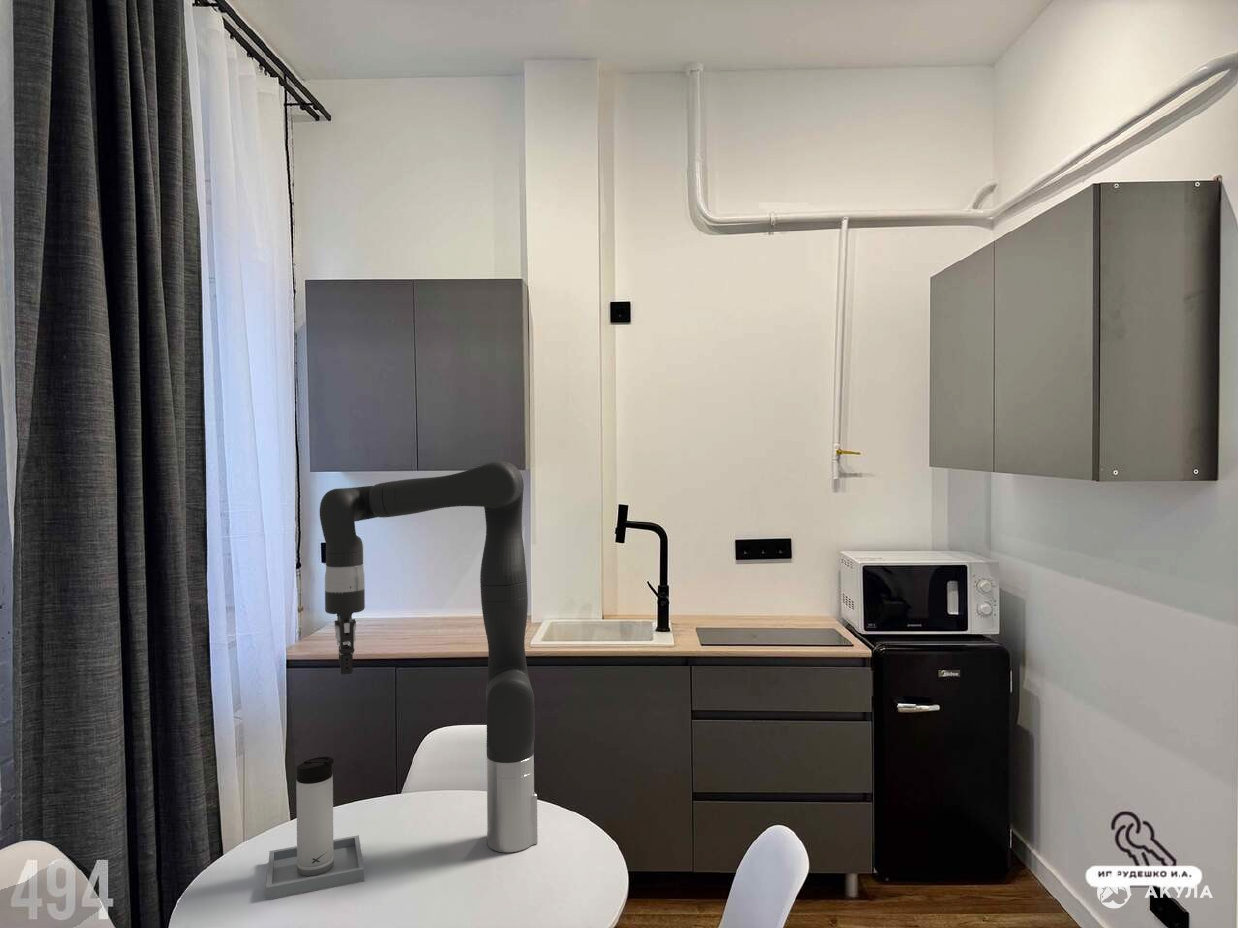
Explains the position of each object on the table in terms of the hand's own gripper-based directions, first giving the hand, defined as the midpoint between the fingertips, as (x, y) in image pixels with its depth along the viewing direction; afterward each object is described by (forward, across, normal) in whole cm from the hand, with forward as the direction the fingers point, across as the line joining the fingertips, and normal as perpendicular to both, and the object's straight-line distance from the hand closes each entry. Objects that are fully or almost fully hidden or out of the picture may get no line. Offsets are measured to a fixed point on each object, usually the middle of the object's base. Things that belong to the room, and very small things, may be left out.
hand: (345, 668), depth 157 cm
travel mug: (+34, -11, +6) cm, 36 cm away
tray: (+34, -11, +6) cm, 36 cm away
